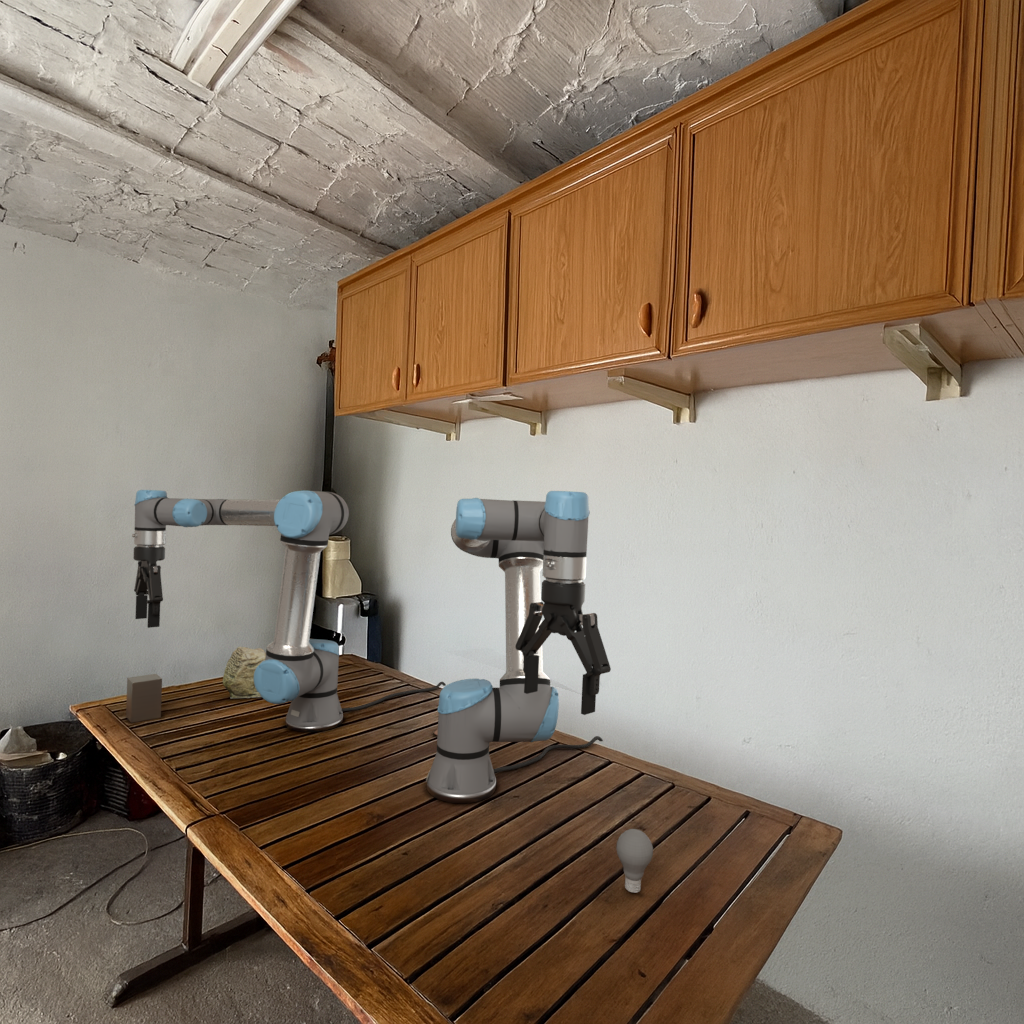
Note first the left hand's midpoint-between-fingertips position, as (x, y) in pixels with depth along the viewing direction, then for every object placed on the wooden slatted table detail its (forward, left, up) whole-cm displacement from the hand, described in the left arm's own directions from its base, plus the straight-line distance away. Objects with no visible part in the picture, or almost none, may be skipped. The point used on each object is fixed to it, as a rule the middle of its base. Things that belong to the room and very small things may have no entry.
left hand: (147, 622), depth 175 cm
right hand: (-17, +125, +4) cm, 127 cm away
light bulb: (-22, +139, -26) cm, 143 cm away
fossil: (-31, +2, -26) cm, 41 cm away
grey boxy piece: (0, 0, -26) cm, 26 cm away
